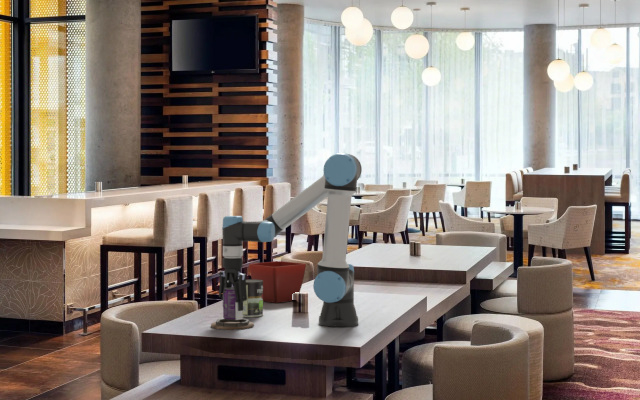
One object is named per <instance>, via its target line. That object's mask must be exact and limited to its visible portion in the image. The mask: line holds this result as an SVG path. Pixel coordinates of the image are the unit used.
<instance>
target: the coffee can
mask: <svg viewBox="0 0 640 400" xmlns="http://www.w3.org/2000/svg"><path fill="white" fill-rule="evenodd" d="M246 291H247V300H246V301H244V302H243V318H258V317H259V318H260V317H264V301H263V280H256V279H252V278H250V279H247V278H246Z"/></svg>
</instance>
